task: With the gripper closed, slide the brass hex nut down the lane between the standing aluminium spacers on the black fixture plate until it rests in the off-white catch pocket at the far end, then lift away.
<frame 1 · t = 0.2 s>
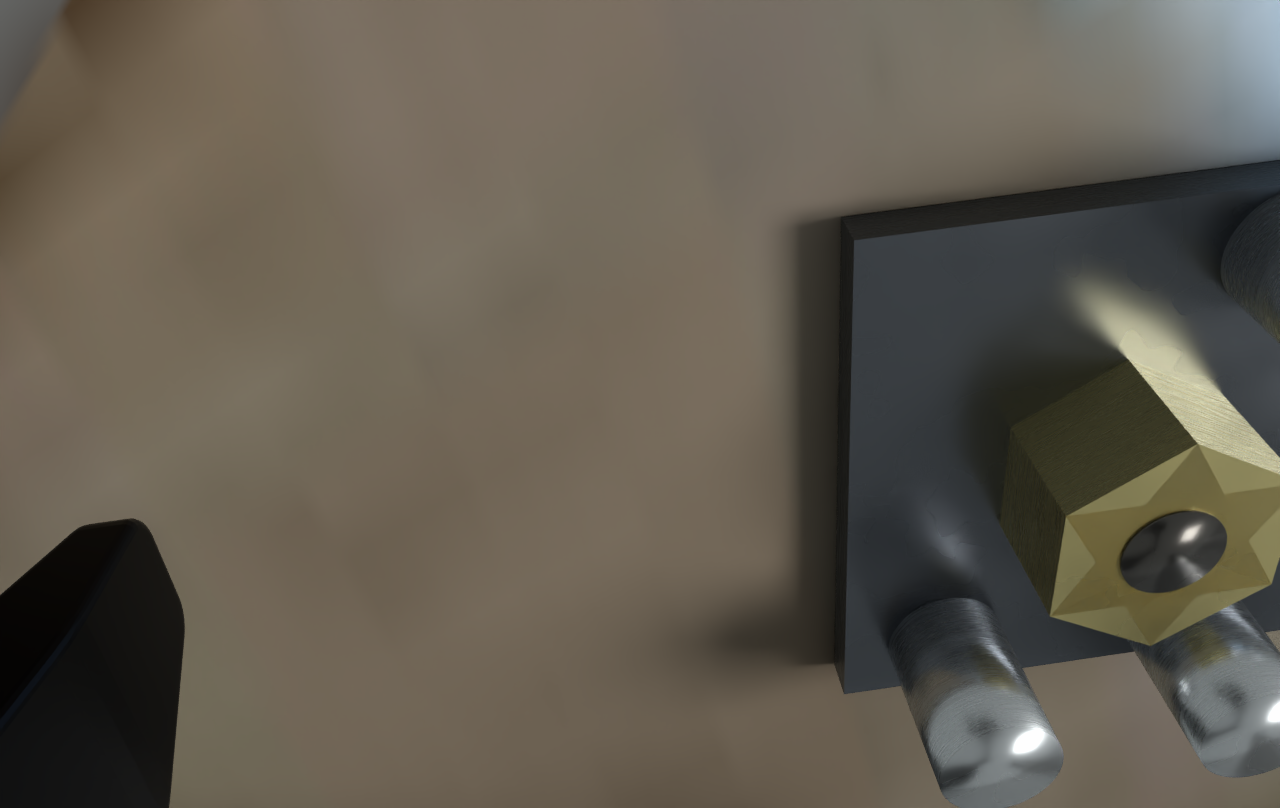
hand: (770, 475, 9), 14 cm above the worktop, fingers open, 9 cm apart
hex nut: (1109, 462, 27), point 1 cm above the worktop, touching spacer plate
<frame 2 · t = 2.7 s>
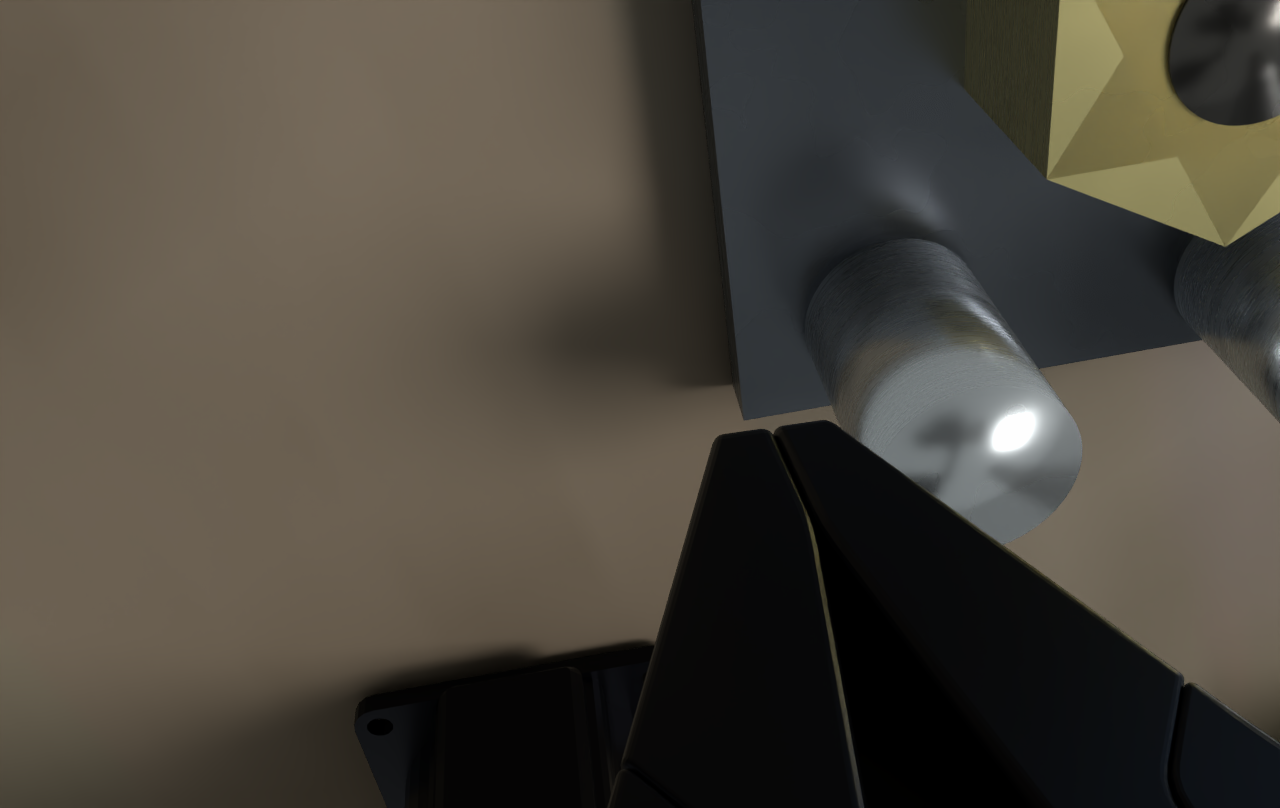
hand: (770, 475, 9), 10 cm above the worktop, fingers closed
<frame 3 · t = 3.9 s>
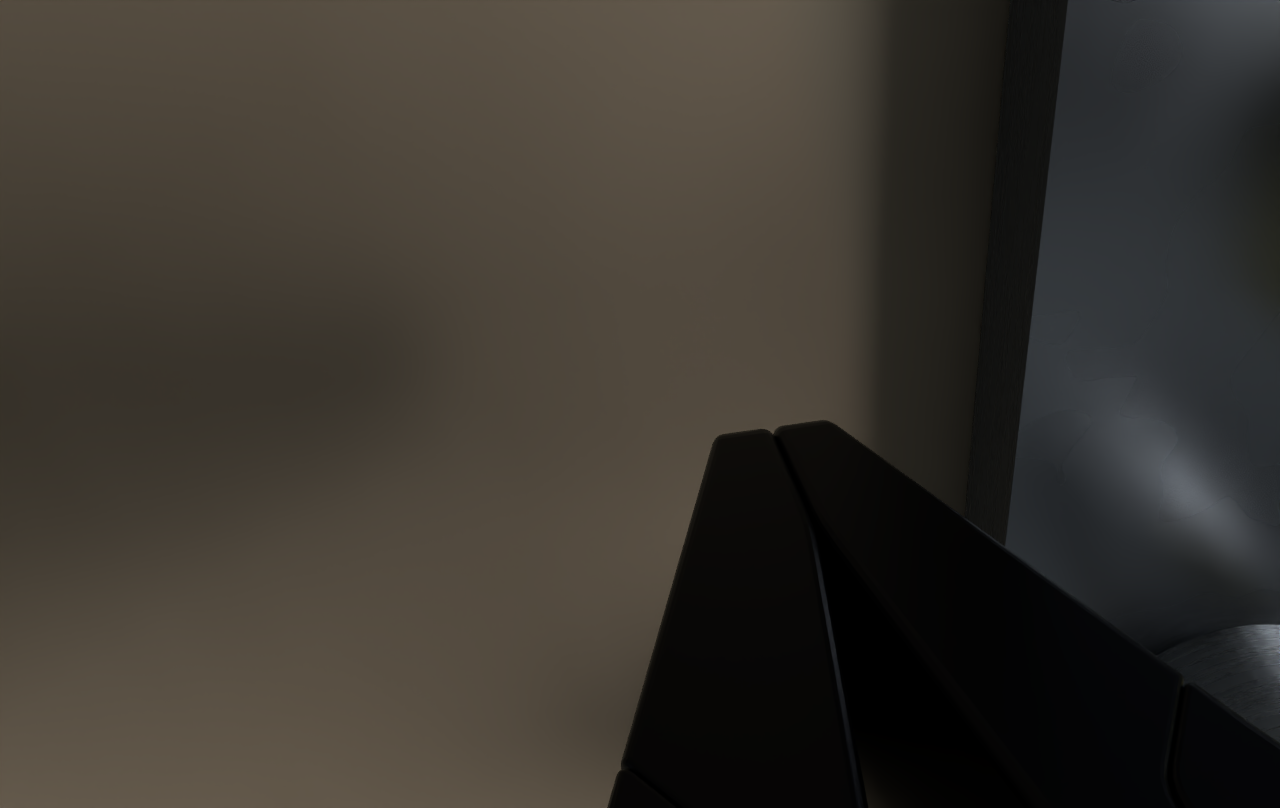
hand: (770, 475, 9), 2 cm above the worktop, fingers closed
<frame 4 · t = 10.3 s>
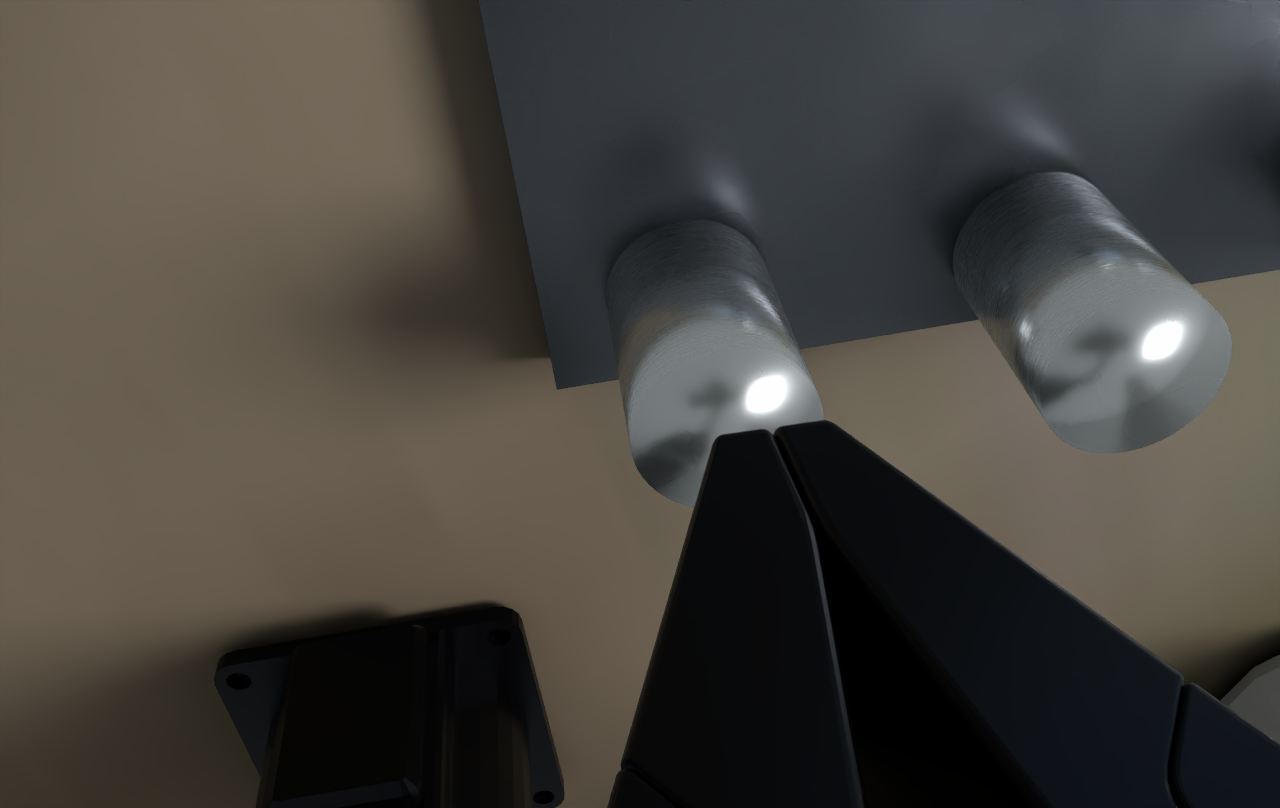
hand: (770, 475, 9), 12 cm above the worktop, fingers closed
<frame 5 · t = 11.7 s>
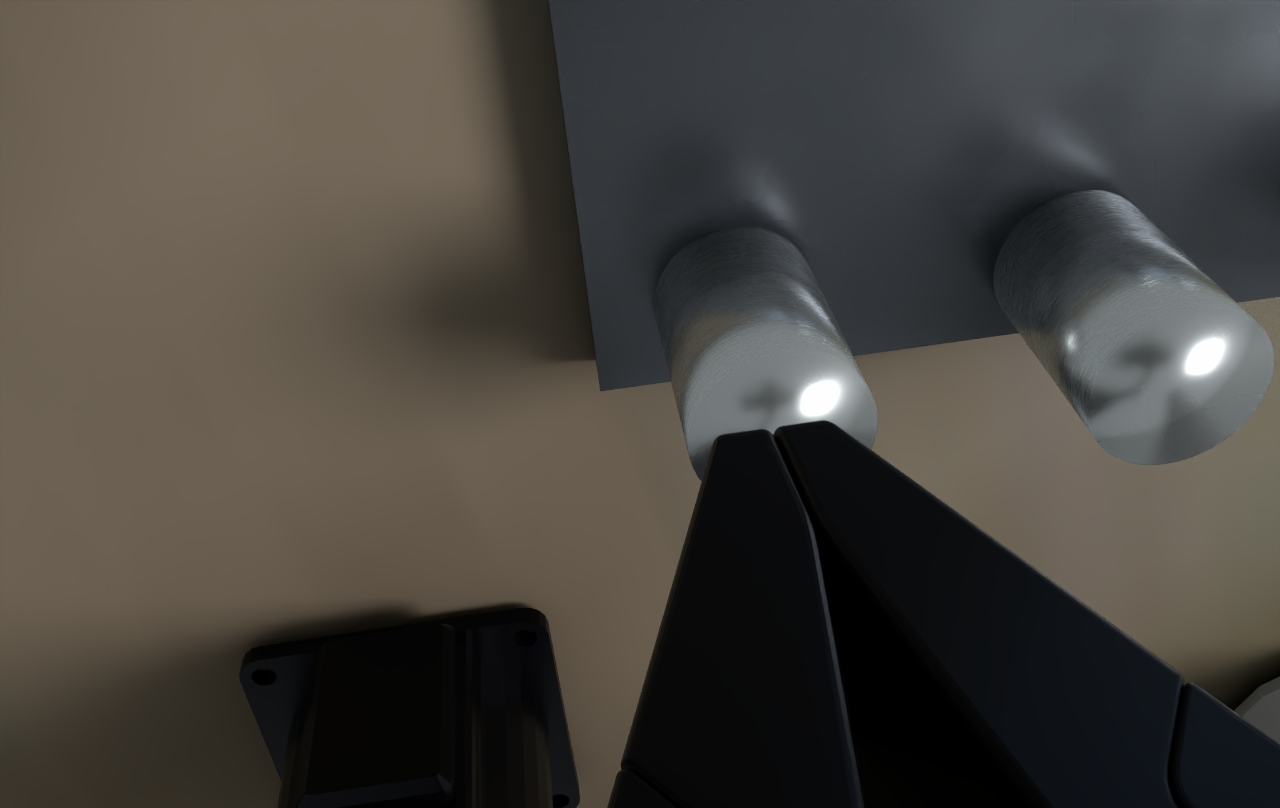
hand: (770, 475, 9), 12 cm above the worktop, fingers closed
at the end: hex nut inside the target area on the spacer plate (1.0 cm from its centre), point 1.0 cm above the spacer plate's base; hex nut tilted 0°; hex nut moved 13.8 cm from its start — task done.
